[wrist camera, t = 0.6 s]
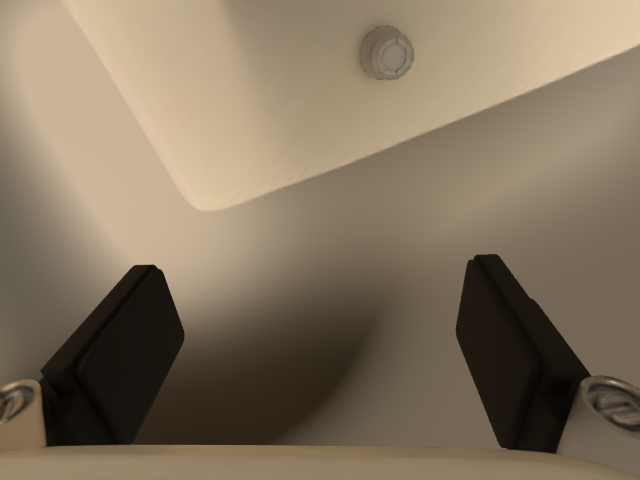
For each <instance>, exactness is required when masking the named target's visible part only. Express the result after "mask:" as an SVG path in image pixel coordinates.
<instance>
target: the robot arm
mask: <svg viewBox="0 0 640 480" xmlns="http://www.w3.org/2000/svg"><path fill="white" fill-rule="evenodd" d="M456 335H457V339H458V342H459V344H460V347H461V350H462V352H463V354H464V357H465V360H466V362H467V365H468V367H469V370H470V372H471V375H472V378H473V380H474V383H475V385H476V388H477V390H478V393H479V395H480V398H481V400H482V403H483V405H484V408H485V410H486V413H487V416H488V418H489V421H490V423H491V426H492V428H493V431H494V433H495V436H496V438H497V441H498V443H499V445H500V446H501V447H502V448H507V449H473V448H440V447H439V448H437V447H364V446H363V447H362V446H258V445H257V446H254V445H252V446H251V445H246V446H245V445H244V446H243V445H130V444H131V443H132V442H133V441H134V439H135V438H136V436H137V434H138V432H139V430H140V428H141V426H142V424H143V422H144V420H145V418H146V416H147V414H148V412H149V410H150V408H151V406H152V404H153V402H154V400H155V398H156V396H157V394H158V392H159V390H160V388H161V386H162V384H163V382H164V380H165V378H166V376H167V374H168V372H169V370H170V368H171V366H172V364H173V362H174V360H175V358H176V356H177V354H178V352H179V350H180V348H181V346H182V344H183V342H184V330H183V327H182V324H181V321H180V319H179V316H178V313H177V310H176V307H175V305H174V302H173V299H172V296H171V294H170V291H169V288H168V285H167V282H166V279H165V276H164V274H163V272H162V270H160V269H158V268H157V267H156V266H155V265H135V266H133V267H132V268H131V269H130V270H129V271H128V272H127V273H126V274H125V276H124V277H123V278H122V279H121V280H120V281H119V282H118V283H117V285H116V286H115V287H114V288H113V289H112V290H111V291H110V292H109V294H108V295H107V296H106V297H105V298H104V299H103V300H102V302H101V303H100V304H99V305H98V306H97V307H96V308H95V309H94V311H93V312H92V313H91V314H90V315H89V316H88V317H87V318H86V320H85V321H84V322H83V323H82V324H81V325H80V326H79V328H78V329H77V330H76V331H75V332H74V333H73V334H72V335H71V336H70V338H69V339H68V340H67V341H66V342H65V343H64V344H63V346H62V347H61V348H60V349H59V350H58V351H57V352H56V353H55V354H54V356H53V357H52V358H51V359H50V360H49V361H48V362H47V364H46V365H45V366H44V367H43V368H42V369H41V370H40V371H41V373H42V374H43V376H44V377H43V378H42V379H41V380H40V381H39V383H38V382H36V381H34V380H29V379H24V380H18V381H14V382H11V383H9V384H6V385H3V386H2V387H0V480H640V389H639V388H637V387H635V386H633V385H631V384H629V383H628V382H625V381H622V380H620V379H616V378H613V377H608V376H591V375H590V373H589V372H588V371H587V369H586V368H585V367H584V365H583V364H582V363H581V361H580V360H579V359H578V358H577V356H576V355H575V353H574V352H573V351H572V349H571V348H570V347H569V345H568V344H567V343H566V341H565V340H564V339H563V337H562V336H561V335H560V333H559V332H558V331H557V329H556V328H555V327H554V325H553V324H552V322H551V321H550V320H549V318H548V317H547V316H546V314H545V313H544V312H543V310H542V309H541V308H540V306H539V305H538V304H537V303H536V302H535V301H534V300H533V299H531V298H529V296H528V295H527V294H526V292H525V291H524V290H523V288H522V287H521V286H520V284H519V283H518V281H517V280H516V279H515V277H514V276H513V274H512V273H511V272H510V270H509V269H508V268H507V266H506V265H505V264H504V262H503V261H502V259H501V258H500V257H499V256H498V255H496V254H488V255H476V256H475V257H474V259H473V260H469V261H468V263H467V268H466V273H465V279H464V285H463V290H462V296H461V302H460V307H459V313H458V319H457V325H456Z"/></svg>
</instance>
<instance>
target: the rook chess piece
mask: <svg viewBox="0 0 640 480" xmlns="http://www.w3.org/2000/svg"><path fill="white" fill-rule="evenodd" d="M413 60H414V49H413V46H412V43H411V41H410V40H409V39H408V38H407V37H406V36H405V35H403V34H401V33H400V32H399V31H398V30H397V29H395V28H392V27H389V26H384V27H378V28H376V29H374V30H373V31H371V32H369V34H368V35H367V36H366V38H365V39H364V40H363V42H362V45H361V49H360V62H361V65H362V67H363V69H364V71H365V72H366V73H367V74H368V75H369V76H370V77H373V78H376V79H379V80H383V79H387V80H393V79H398V78H400V77H401V76H403V75H405V73H406V72H407V71H408V70H409V69H410V67H411V65H412V62H413Z"/></svg>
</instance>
